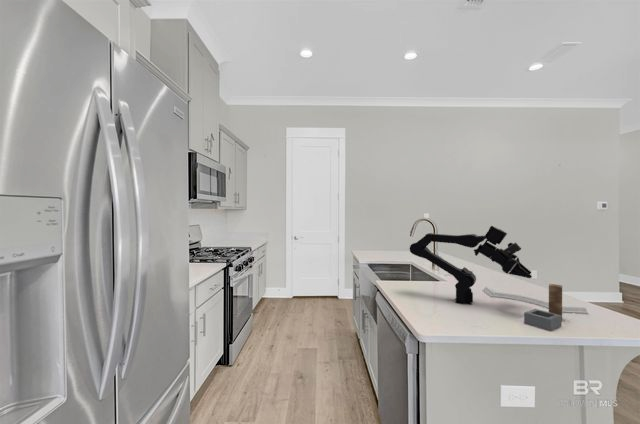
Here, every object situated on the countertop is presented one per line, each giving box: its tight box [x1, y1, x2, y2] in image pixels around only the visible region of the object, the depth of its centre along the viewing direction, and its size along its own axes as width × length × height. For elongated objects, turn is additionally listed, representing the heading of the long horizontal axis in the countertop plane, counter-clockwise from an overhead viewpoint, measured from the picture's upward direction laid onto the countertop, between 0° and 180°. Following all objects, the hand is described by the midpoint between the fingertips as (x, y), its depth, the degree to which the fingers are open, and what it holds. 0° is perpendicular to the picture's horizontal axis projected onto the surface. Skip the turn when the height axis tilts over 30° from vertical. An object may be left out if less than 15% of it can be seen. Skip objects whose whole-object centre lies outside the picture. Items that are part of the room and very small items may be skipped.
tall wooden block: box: [548, 283, 563, 316], centre depth 114 cm, size 4×4×13 cm
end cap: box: [523, 308, 563, 332], centre depth 108 cm, size 8×8×4 cm
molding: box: [482, 286, 589, 315], centre depth 136 cm, size 42×12×3 cm, turn 34°
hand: (530, 275), depth 121 cm, fingers open, 9 cm apart
